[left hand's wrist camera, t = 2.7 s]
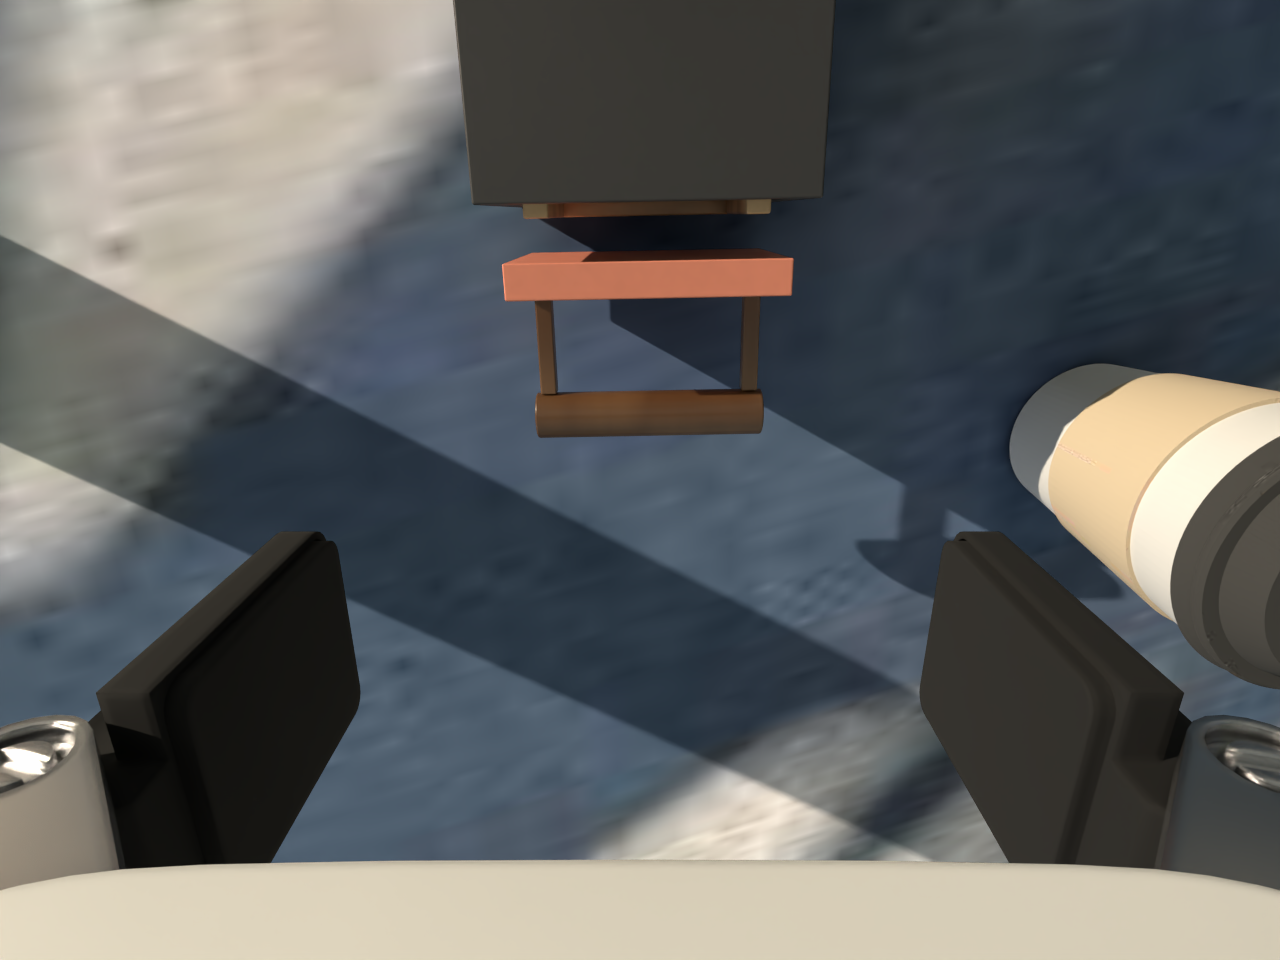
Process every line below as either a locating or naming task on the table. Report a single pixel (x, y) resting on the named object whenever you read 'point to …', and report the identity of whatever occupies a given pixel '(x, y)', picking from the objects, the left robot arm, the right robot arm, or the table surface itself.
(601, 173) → the drawer box casing
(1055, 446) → the coffee cup
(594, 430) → the drawer
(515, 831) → the table surface
